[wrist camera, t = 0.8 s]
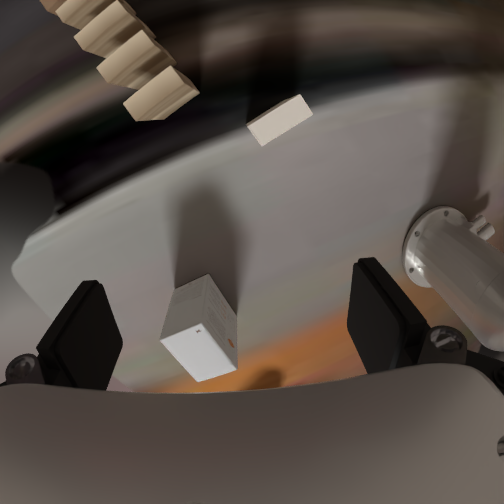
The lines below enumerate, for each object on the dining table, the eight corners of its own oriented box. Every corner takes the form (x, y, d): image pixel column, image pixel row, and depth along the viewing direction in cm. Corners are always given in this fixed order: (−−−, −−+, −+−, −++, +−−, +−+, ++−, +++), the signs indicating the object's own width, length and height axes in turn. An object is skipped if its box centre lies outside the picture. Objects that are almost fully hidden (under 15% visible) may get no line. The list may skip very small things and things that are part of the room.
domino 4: (154, 106, 31) (122, 103, 22) (189, 79, 30) (170, 65, 21) (164, 119, 31) (135, 121, 22) (200, 92, 30) (184, 83, 21)
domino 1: (96, 30, 26) (55, 11, 17) (129, 4, 25) (95, -25, 16) (104, 40, 26) (63, 22, 17) (137, 13, 25) (104, -15, 16)
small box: (173, 288, 40) (156, 339, 31) (209, 271, 40) (200, 321, 30) (204, 330, 44) (196, 384, 34) (238, 316, 43) (238, 370, 33)
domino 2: (113, 53, 27) (73, 37, 18) (147, 26, 26) (116, -1, 17) (122, 64, 28) (83, 50, 19) (156, 37, 27) (127, 12, 18)
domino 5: (245, 124, 32) (247, 126, 23) (283, 100, 31) (299, 94, 22) (255, 138, 33) (261, 146, 24) (293, 115, 32) (313, 114, 23)
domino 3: (133, 78, 29) (96, 67, 20) (167, 51, 28) (141, 29, 19) (142, 90, 30) (107, 83, 21) (177, 63, 29) (154, 44, 20)
